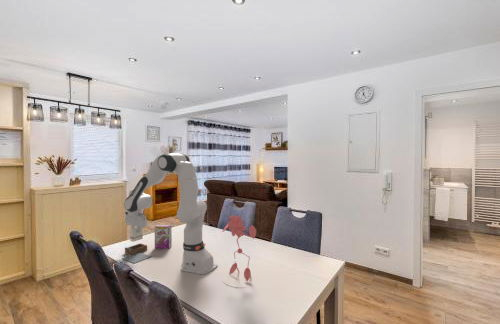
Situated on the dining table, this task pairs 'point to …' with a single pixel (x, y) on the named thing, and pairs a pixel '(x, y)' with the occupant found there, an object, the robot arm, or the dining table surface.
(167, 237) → the candy bar box
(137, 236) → the white upright block
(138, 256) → the mat
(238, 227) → the red stick figure
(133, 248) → the wooden card holder
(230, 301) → the dining table surface
